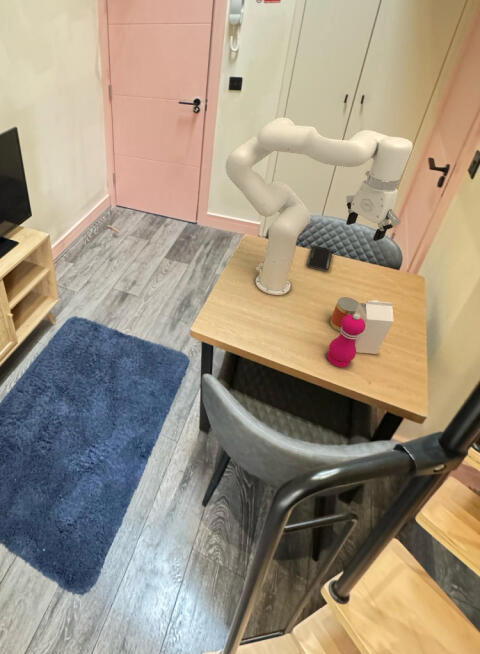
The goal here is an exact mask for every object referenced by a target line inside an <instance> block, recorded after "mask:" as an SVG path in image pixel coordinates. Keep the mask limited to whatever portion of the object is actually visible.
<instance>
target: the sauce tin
mask: <svg viewBox="0 0 480 654" xmlns="http://www.w3.org/2000/svg"><path fill="white" fill-rule="evenodd" d="M359 303H360V302H358V300H356V299H354V298H353V297H347V296H343V297H339V298H338V299H337V302H336V304H335V306H334V309H333V312H332V315H331V317H330V320H329V324H330V326H331V327H332V328H333V329H334V330H336V331H338V332H340V329H341V326H342V325H341V321H342V319H343V318H344V317H345V316H347V315H354V314H355V312H356V309H357V307H358V305H359Z"/></svg>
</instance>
